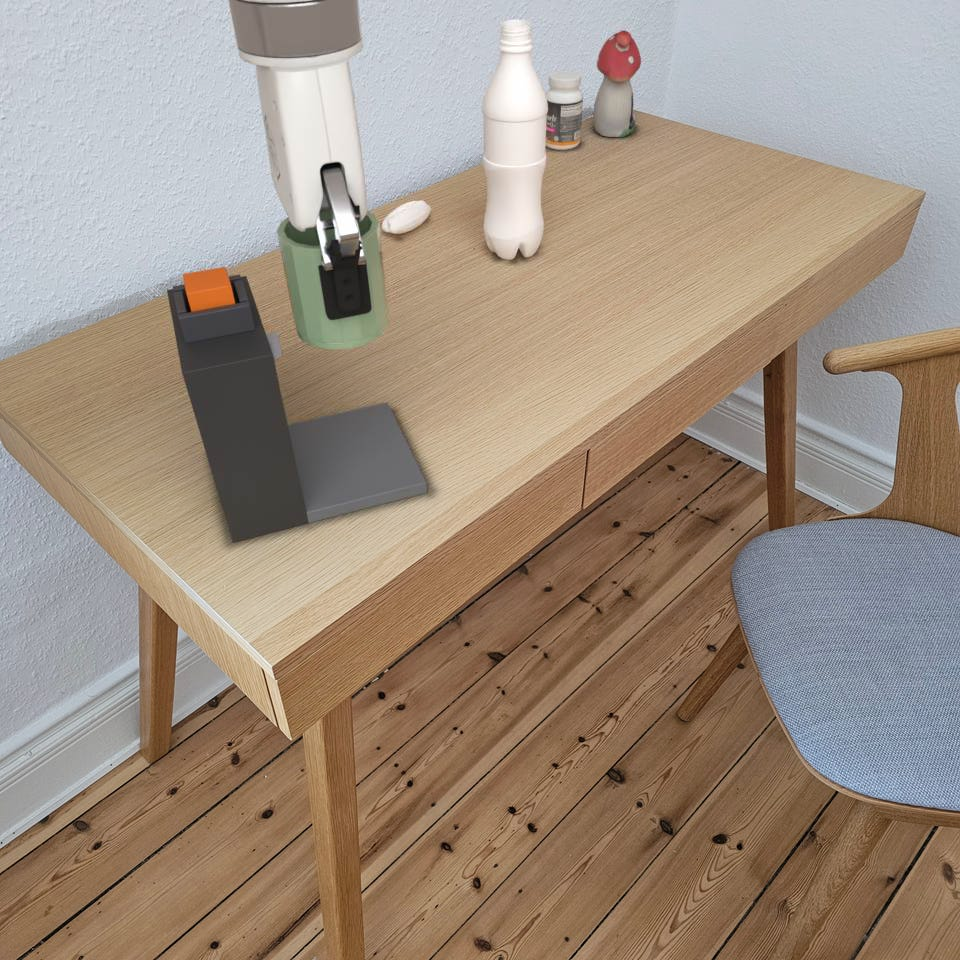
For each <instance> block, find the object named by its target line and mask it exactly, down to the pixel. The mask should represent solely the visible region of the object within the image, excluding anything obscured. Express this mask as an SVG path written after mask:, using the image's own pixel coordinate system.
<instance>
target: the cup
mask: <svg viewBox="0 0 960 960" xmlns="http://www.w3.org/2000/svg"><path fill="white" fill-rule="evenodd" d="M319 216H320V220H321V221H322V220H328V219H332V217H331V213H330V211H324V212H319ZM357 222H358V221H357ZM358 227H359V231H360V236H361V241H362V246H363V250H364V255H365V259H366V264H367V273H368V281H369V289H370V298H371V306H372V309H371V311H370V312H369V313H366V314H361V315H356V316H351V317H346V318H341V319H336V320H330V319H328V317H327V315H326V312H325V306H324V300H323V294H322V287H321V281H320V275H319V269H318V266H320V265H323V264H322V260H321V256H320V251H319V247H318V242H317V238H316V233H315V229H314V227H311V228H306V231H304V232H301V231H299V230H297V229H296V228H295V227H294V226H293V225H292V224H291V222H290V220H289V218H288V217H286V218H285V219H283V220H282V221H281V222H280V224H279V226H278V227H277V229H276V234H277V239H278V243H279V244H278V245H279V250H280V255H281V260H282V265H283V271H284V276H285V282H286V287H287V291H288V297H289V302H290V307H291V312H292V318H293V323H294V325H295V331H296V335H297V336H298V338H299V339H300V340H301V341H302V342H303V343H305V344H307V345H308V346H311V347H313V348H317V349H322V350H327V351H328V350H329V351H343V350H344V351H345V350H351V349H355V348H360V347H363V346H366V345H368V344H370V343H372V342H374V341H376V340H377V339H379V338H380V337H381V336H383V335H384V333H385V332H386V331H387V329H388V327H389V323H390V321H389V304H388V295H387V287H386V277H385V267H384V257H383V247H382V239H381V236H382V235H381V227H380V221H379V220H378V219H377V216H376V215H375V213H373V212H371V211H368V210H367V214H366V216H365V217H364V218H363V220H362V221H360V222H358ZM325 232H326V236H327V241H328V246H330V244H331V240H336V238H335V229H332V230H326V231H325Z"/></svg>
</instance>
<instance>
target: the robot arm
mask: <svg viewBox="0 0 960 960" xmlns="http://www.w3.org/2000/svg"><path fill="white" fill-rule="evenodd" d="M228 5H229V6H228V7H229V10H230V16H231V21H232V26H233V31H234V36H235V41H236V48H237V52H238V56H239V58H240V59H241V60H242V61H243V62H245V63H248V64H251V65H255V72H256V81H257V89H258V95H259V102H260V109H261V114H262V115H261V116H262V121H263V127H264V133H265V134H264V135H265V141H266V147H267V152H268V161H269V166H270V167H269V168H270V174H271V180H272V183H273V188H274V189H275V192H276V194H277V197H278V198H279V201H280V203H281V205H282V208H283V210H284V212H285V214H286V216H287V218H289V220H290V222H291V224H292V225H293V226H294V227H295V228H296V229H297V230H299V231H301V232H304V231H306V228H311V227H314V229H315V233H316V238H317V242H318V247H319V251H320V256H321V260H322V264H323V265H320V266H318V269H319V275H320V281H321V287H322V294H323V300H324V306H325V312H326V315H327V317H328V319H330V320H336V319H341V318H346V317H351V316H356V315H361V314H366V313H369V312H370V311H371V309H372V306H371V298H370V289H369V281H368V273H367V264H366V259H365V255H364V250H363V246H362V241H361V236H360V231H359V227H358V222H360V221H362V220H363V218H364V217H365V216H366V214H367V211H368V201H367V188H366V176H365V169H364V160H363V153H362V152H363V151H362V145H361V144H362V143H361V136H360V130H359V122H358V115H357V107H356V101H355V98H356V95H355V92H354V89H353V82H352V76H351V69H350V63H349V58H353V57H354V56H356V55H358V54H359V53H361V51H362V50H363V48H364V45H363V44H364V43H363V35H362V26H361V15H360V7H359V0H228ZM324 211H330V213H331V217H332V219H328V220H322V221H321V220H320V216H319V212H324ZM357 221H358V222H357ZM332 229H335V238H336V240H331V244H330V246H328V241H327V236H326V232H325V231H326V230H332Z"/></svg>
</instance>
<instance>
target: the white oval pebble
mask: <svg viewBox="0 0 960 960" xmlns="http://www.w3.org/2000/svg"><path fill="white" fill-rule="evenodd" d="M431 210H432V208H431V206H430V205H429V204H428V203H426V202H425V201H424V200H423V199H419V200H412V201H408V202H405V203H402V204H401V205H398V206H397V207H395V208H394V209H393V210H391V212H389V213H388V214H387V215H386V216H385V218H384V219H383V220H382V223H381V229H382V231H383V232H385V233H390V234H395V235H400V234H404V233H407V232H410V231H413V230H414V229H416V228H418V227H419V226H421V225H422V224H423V223H424V222H425V221H426V220H427V219H428V217H429V215H430V214H431Z"/></svg>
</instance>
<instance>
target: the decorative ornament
mask: <svg viewBox="0 0 960 960" xmlns="http://www.w3.org/2000/svg"><path fill="white" fill-rule="evenodd" d="M641 64H642V57H641V53H640V49H639V47H638V44H637V43H636V41H635V39H634V38H633V37H632V34H631V33H630V32H629V31H627V30H625V29H624V30H620V31H618V32H616V33H614V34H612V35H611V36H610V37H608V39H606V41H605V42H604V43H603V45H602V47H601V49H600V51H599V52H598V56H597V59H596V69H597V70H598V71H599V72H600V73H601V74H602V75H603V79H602V81H601V83H600V86H599V88H598V91H597V94H596V97H595V100H594V105H593V114H592V119H593V127H594V130H595V132H596V133H597V134H598V135H600V136H602V137H608V138H624V137H627V136H629V135H631V134H633V133H634V131H635V128H636V127H635V126H636V119H637V117H636V114H635V112H634V94H633V93H634V92H633V91H634V90H633V87H632V84H631V83H632V82H631V79H632V78H633V77H634V76H635V74H636V73H637V72H638V71H639V69H640V68H641Z"/></svg>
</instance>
